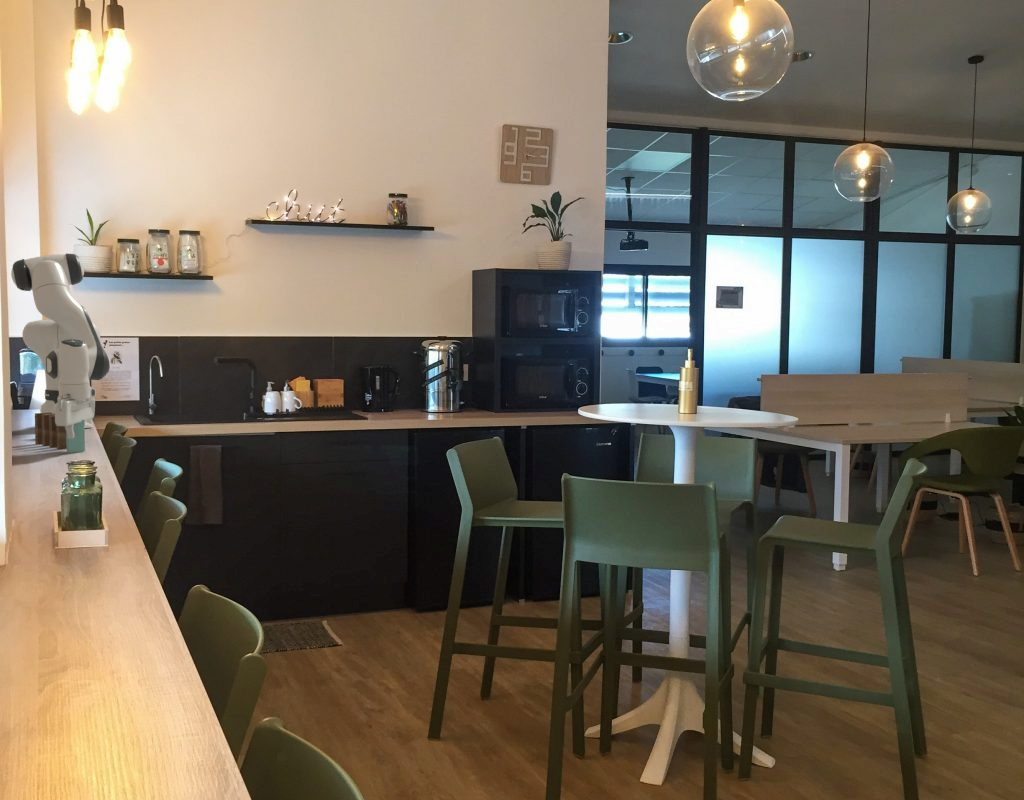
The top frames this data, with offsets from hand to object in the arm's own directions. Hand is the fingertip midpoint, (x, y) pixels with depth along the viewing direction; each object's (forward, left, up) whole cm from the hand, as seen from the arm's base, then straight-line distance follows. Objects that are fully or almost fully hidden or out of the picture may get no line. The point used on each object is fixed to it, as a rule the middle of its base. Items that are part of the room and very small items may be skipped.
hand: (75, 437), depth 314 cm
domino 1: (-21, -10, -5) cm, 24 cm away
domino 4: (-9, -3, -5) cm, 11 cm away
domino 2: (-17, -7, -5) cm, 20 cm away
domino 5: (0, 0, -5) cm, 5 cm away
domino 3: (-13, -5, -5) cm, 15 cm away
